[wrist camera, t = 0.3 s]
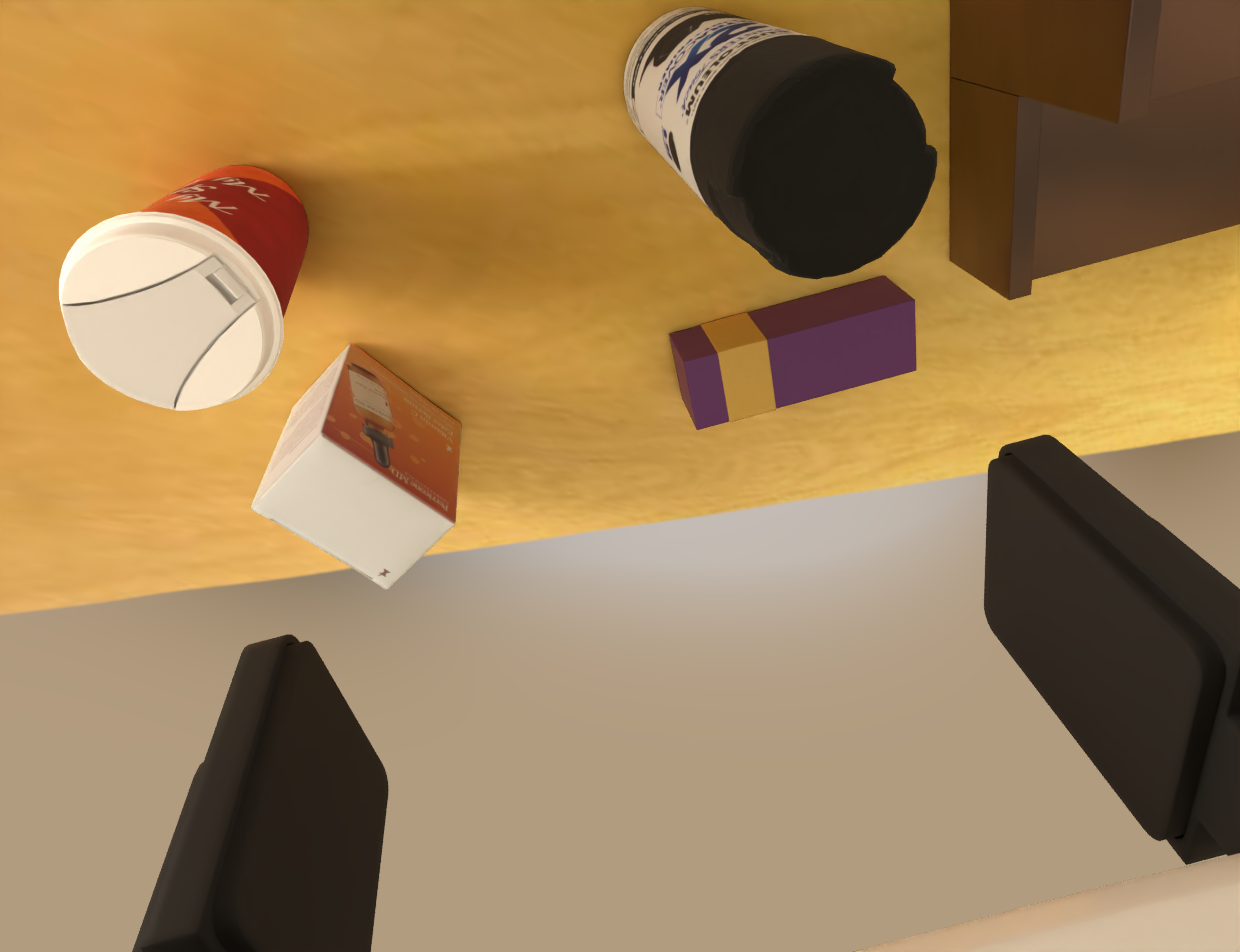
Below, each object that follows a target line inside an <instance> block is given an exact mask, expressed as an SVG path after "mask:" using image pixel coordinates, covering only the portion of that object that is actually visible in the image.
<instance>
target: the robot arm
mask: <svg viewBox="0 0 1240 952" xmlns="http://www.w3.org/2000/svg"><path fill="white" fill-rule="evenodd" d="M987 491H988V492H987V524H986V526H987V527H986V557H985V589H984V610H985V615H986V618H987V621H988V624H989V626H990V628H991V630H992V631H993V633H994V634H995V635H996V636H997V638H998V639H999V641H1000V642H1001V643H1002V645H1003V646H1004V647H1005V648H1006V650H1007V651H1008V652H1009V654H1010V655H1011V656H1012V658H1013V659H1014V660H1015V662H1016V663H1017V664H1018V665H1019V667H1020V668H1021V669H1022V671H1023V672H1024V673H1025V675H1026V676H1027V677H1028V679H1029V680H1030V681H1031V682H1032V684H1033V685H1034V686H1035V688H1036V689H1037V690H1038V692H1039V693H1040V694H1041V696H1042V697H1043V698H1044V699H1045V701H1046V702H1047V703H1048V705H1049V706H1050V707H1051V709H1052V710H1053V711H1054V713H1055V714H1056V715H1057V716H1058V718H1059V719H1060V720H1061V722H1062V723H1063V724H1064V725H1065V727H1066V728H1067V730H1068V731H1069V732H1070V733H1071V735H1072V736H1073V737H1074V739H1075V740H1076V741H1077V743H1078V744H1079V745H1080V746H1081V748H1082V749H1083V750H1084V752H1085V753H1086V754H1087V756H1088V757H1089V758H1090V759H1091V761H1092V762H1093V763H1094V765H1095V766H1096V767H1097V769H1098V770H1099V771H1100V772H1101V774H1102V775H1103V776H1104V778H1105V779H1106V780H1107V782H1108V783H1109V784H1110V786H1111V787H1112V788H1113V789H1114V791H1115V792H1116V793H1117V795H1118V796H1119V797H1120V799H1121V800H1122V801H1123V803H1124V804H1125V805H1126V807H1127V808H1128V809H1129V811H1130V812H1131V813H1132V814H1133V816H1134V817H1135V818H1136V820H1137V821H1138V822H1139V823H1140V825H1141V826H1142V827H1143V829H1144V830H1145V831H1146V832H1147V833H1148V834H1149V835H1150V836H1151V837H1152V838H1154V839H1156V840H1158V841H1161V840H1165V839H1166V840H1167V841H1168V842H1169V844H1170V845H1171V846H1172V847H1173V849H1174V850H1175V851H1176V853H1177V854H1178V855H1179V856H1180V857H1181V859H1182V860H1183V862H1185V864H1186V865H1187V864H1191V863H1195V862H1198V861H1202V860H1206V859H1210V858H1214V857H1217V856H1221V855H1225V854H1227V855H1228V856H1226V857H1222V858H1218V859H1214V860H1210V861H1205V862H1202V863H1197V864H1193V865H1189V866H1185V867H1181V868H1177V869H1173V870H1168V871H1164V872H1160V873H1156V874H1152V875H1148V876H1143V877H1139V878H1135V879H1131V880H1127V881H1123V882H1119V883H1114V884H1111V885H1106V886H1103V887H1099V888H1095V889H1091V890H1087V891H1084V892H1080V893H1076V894H1072V895H1068V896H1064V897H1061V898H1057V899H1053V900H1049V901H1045V902H1041V903H1037V904H1034V905H1030V906H1026V907H1022V908H1019V909H1015V910H1011V911H1007V912H1003V913H999V914H995V915H991V916H988V917H984V918H980V919H976V920H972V921H969V922H965V923H961V924H957V925H953V926H950V927H946V928H942V929H938V930H934V931H930V932H926V933H923V934H919V935H915V936H911V937H908V938H904V939H900V940H896V941H892V942H888V943H885V944H881V945H877V946H873V947H870V948H866V949H862V950H858V951H855V952H1240V589H1239V588H1238V587H1237V586H1235V585H1234V584H1233V583H1232V582H1230V581H1229V580H1228V579H1227V578H1226V577H1224V576H1223V575H1222V574H1221V573H1219V572H1218V571H1217V570H1216V569H1215V568H1213V567H1212V566H1211V565H1210V564H1209V563H1207V562H1206V561H1205V560H1204V559H1203V558H1201V557H1200V556H1199V555H1198V554H1197V553H1195V552H1194V551H1193V550H1192V549H1190V548H1189V547H1188V546H1187V545H1186V544H1184V543H1183V542H1182V541H1181V540H1180V539H1178V538H1177V537H1176V536H1175V535H1173V534H1172V533H1171V532H1170V531H1169V530H1167V529H1166V528H1165V527H1164V526H1163V525H1161V524H1160V523H1159V522H1158V521H1156V520H1154V519H1153V518H1151V517H1150V516H1148V515H1147V514H1146V513H1145V512H1144V511H1143V510H1141V509H1140V508H1139V507H1138V506H1136V505H1135V504H1134V503H1133V502H1131V501H1130V500H1129V499H1128V498H1127V497H1125V496H1124V495H1123V494H1122V493H1121V492H1120V491H1118V490H1117V489H1116V488H1115V487H1113V486H1112V485H1111V484H1110V483H1109V482H1107V481H1106V480H1105V479H1104V478H1102V477H1101V476H1100V475H1099V474H1098V473H1097V472H1095V471H1094V470H1093V469H1092V468H1091V467H1089V466H1088V465H1087V464H1086V463H1084V462H1083V461H1082V460H1081V459H1080V458H1078V457H1077V456H1076V455H1075V454H1074V453H1072V452H1071V451H1070V450H1069V449H1068V448H1066V447H1065V446H1064V445H1063V444H1062V443H1060V442H1059V441H1058V440H1057V439H1055V438H1054V437H1052V436H1050V435H1041V436H1038V437H1034V438H1030V439H1026V440H1023V441H1019V442H1015V443H1011V444H1007V445H1005V446H1003V447H1002V448H1001V450H1000V452H999V457H998V458H997V459H993V460H992V461H991V462H990V464H989V468H988V490H987ZM387 800H388V780H387V775H386V772H385V769H384V766H383V764H382V763H381V761H380V759H379V757H378V755H377V754H376V752H375V750H374V749H373V747H372V745H371V743H370V742H369V740H368V738H367V737H366V735H365V733H364V731H363V730H362V728H361V726H360V724H359V723H358V721H357V719H356V718H355V716H354V714H353V712H352V711H351V709H350V707H349V706H348V704H347V702H346V700H345V699H344V697H343V696H342V694H341V692H340V690H339V688H338V687H337V685H336V683H335V681H334V680H333V678H332V676H331V675H330V673H329V671H328V669H327V668H326V666H325V664H324V662H323V661H322V659H321V657H320V656H319V654H318V652H317V651H316V649H315V647H314V646H313V644H312V643H310V642H309V641H304V642H299V641H298V639H297V638H296V637H294V636H293V635H284V636H280V637H277V638H273V639H269V640H265V641H261V642H257V643H254V644H250V645H248V646H246V647H245V648H244V650H243V652H242V653H241V656H240V659H239V662H238V665H237V668H236V671H235V674H234V676H233V679H232V683H231V685H230V688H229V691H228V694H227V697H226V700H225V703H224V705H223V708H222V711H221V714H220V717H219V720H218V723H217V726H216V728H215V731H214V734H213V737H212V740H211V743H210V746H209V749H208V752H207V754H206V757H205V760H204V762H203V763H202V764H201V765H200V766H199V768H198V770H197V772H196V774H195V776H194V778H193V781H192V784H191V786H190V789H189V792H188V795H187V798H186V801H185V803H184V806H183V809H182V812H181V815H180V818H179V821H178V824H177V826H176V829H175V832H174V835H173V838H172V840H171V843H170V846H169V849H168V852H167V855H166V857H165V860H164V863H163V866H162V869H161V872H160V874H159V877H158V880H157V883H156V886H155V889H154V891H153V894H152V897H151V900H150V903H149V906H148V909H147V911H146V914H145V917H144V920H143V923H142V925H141V928H140V931H139V934H138V937H137V940H136V943H135V945H134V948H133V951H132V952H371V944H372V935H373V926H374V917H375V916H374V915H375V908H376V899H377V889H378V881H379V872H380V863H381V854H382V845H383V835H384V826H385V818H386V808H387Z"/></svg>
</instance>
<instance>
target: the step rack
mask: <svg viewBox="0 0 1240 952" xmlns="http://www.w3.org/2000/svg"><path fill="white" fill-rule="evenodd" d="M950 76H951V78H950V261H951V262H953V263H954V264H956V265H957V266H959V267H960V268H962V269H963V270H965V271H966V272H968V273H969V274H971V275H972V276H974V277H975V278H977V279H978V280H979V281H981V282H982V283H984V284H985V285H987V286H988V287H990V288H991V289H993V290H994V291H996V292H997V293H999V294H1000V295H1002V296H1003V297H1005V298H1006V299H1008V300H1012V299H1016V298H1020V297H1023V296H1027V295H1030V294H1031V285H1032V280H1034V279H1038V278H1041V277H1045V276H1049V275H1052V274H1056V273H1060V272H1064V271H1067V270H1071V269H1075V268H1078V267H1082V266H1086V265H1090V264H1093V263H1097V262H1101V261H1104V260H1108V259H1112V258H1116V257H1119V256H1123V255H1127V254H1130V253H1134V252H1138V251H1142V250H1145V249H1149V248H1153V247H1156V246H1160V245H1164V244H1167V243H1171V242H1175V241H1179V240H1182V239H1186V238H1190V237H1193V236H1197V235H1201V234H1205V233H1208V232H1212V231H1216V230H1219V229H1223V228H1227V227H1231V226H1234V225H1238V224H1240V0H951V52H950Z"/></svg>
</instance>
